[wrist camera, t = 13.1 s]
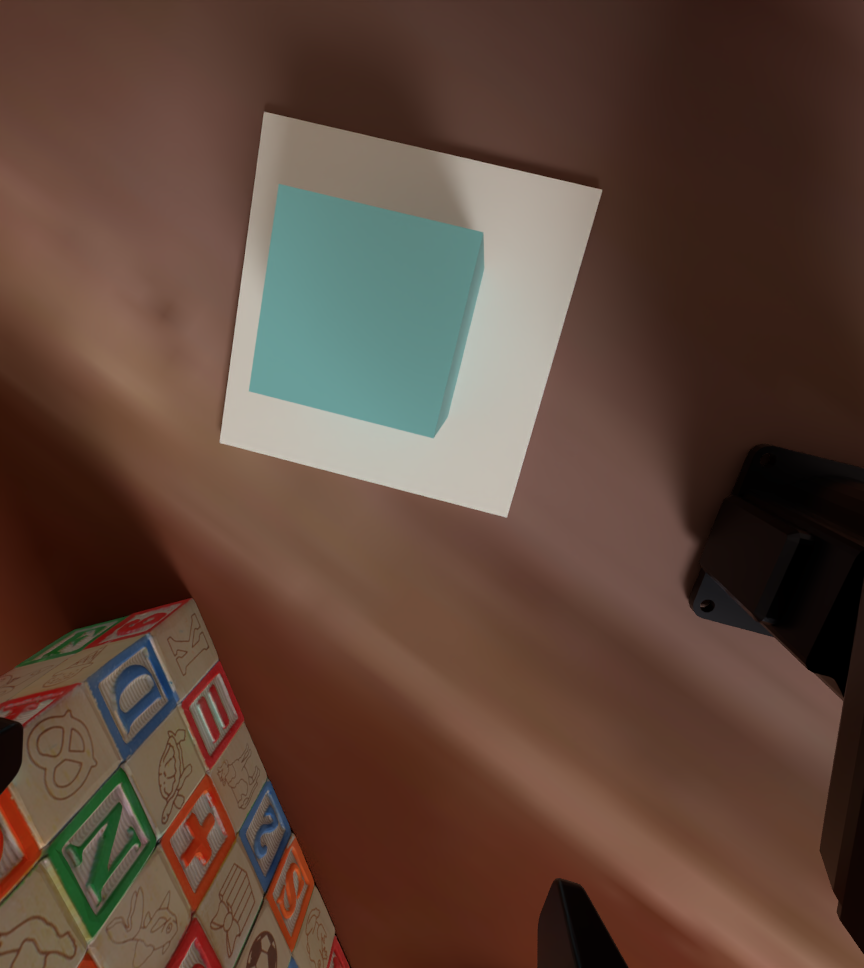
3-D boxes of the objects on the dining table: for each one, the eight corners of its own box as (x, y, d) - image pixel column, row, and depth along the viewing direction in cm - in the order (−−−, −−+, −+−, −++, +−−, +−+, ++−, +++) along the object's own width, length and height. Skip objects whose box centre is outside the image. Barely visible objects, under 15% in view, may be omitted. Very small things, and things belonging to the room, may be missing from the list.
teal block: (484, 268, 17) (483, 232, 12) (447, 417, 18) (433, 438, 13) (337, 233, 17) (278, 183, 12) (311, 382, 18) (248, 391, 14)
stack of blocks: (361, 976, 26) (252, 1510, 14) (249, 989, 27) (58, 1497, 15) (193, 592, 22) (-172, 882, 10) (68, 625, 23) (-400, 925, 11)
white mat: (599, 194, 16) (602, 189, 16) (506, 514, 19) (506, 517, 19) (269, 117, 17) (264, 111, 16) (224, 440, 20) (219, 442, 19)
